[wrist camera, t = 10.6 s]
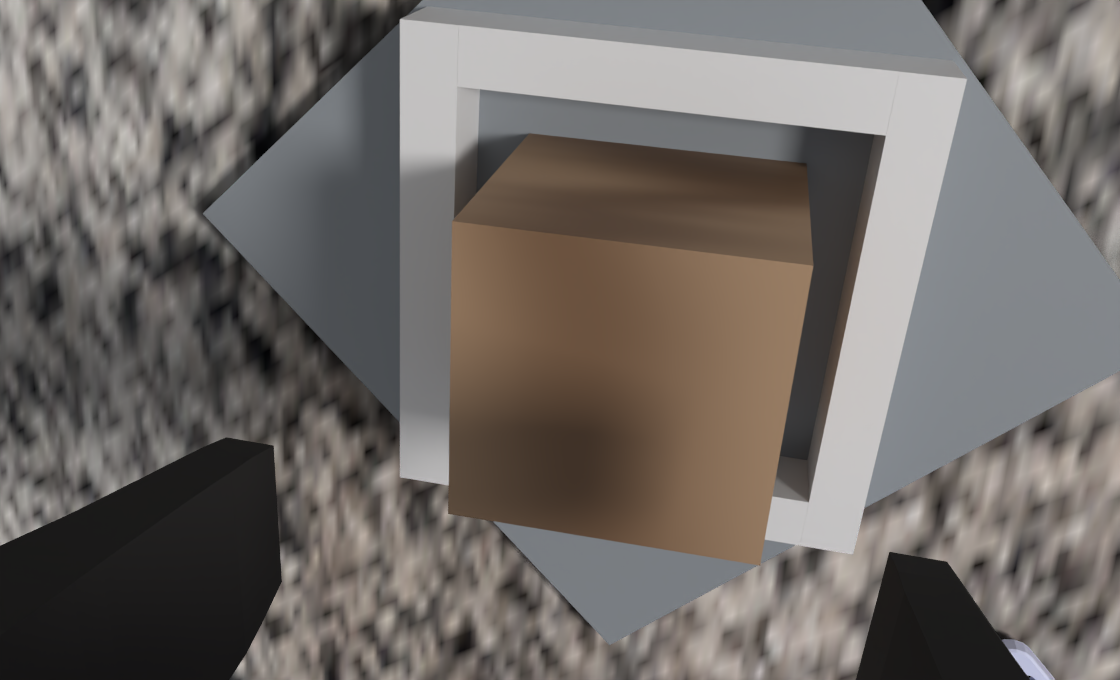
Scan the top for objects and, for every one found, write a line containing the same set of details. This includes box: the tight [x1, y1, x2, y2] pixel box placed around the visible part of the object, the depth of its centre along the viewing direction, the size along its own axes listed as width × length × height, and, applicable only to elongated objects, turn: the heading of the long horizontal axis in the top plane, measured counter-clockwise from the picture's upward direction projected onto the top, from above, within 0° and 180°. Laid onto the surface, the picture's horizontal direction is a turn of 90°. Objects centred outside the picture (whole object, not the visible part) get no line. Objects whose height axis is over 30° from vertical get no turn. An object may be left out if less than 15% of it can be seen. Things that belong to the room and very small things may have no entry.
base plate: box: [203, 0, 1120, 645], centre depth 19 cm, size 13×13×2 cm
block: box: [448, 133, 813, 565], centre depth 18 cm, size 5×5×5 cm
